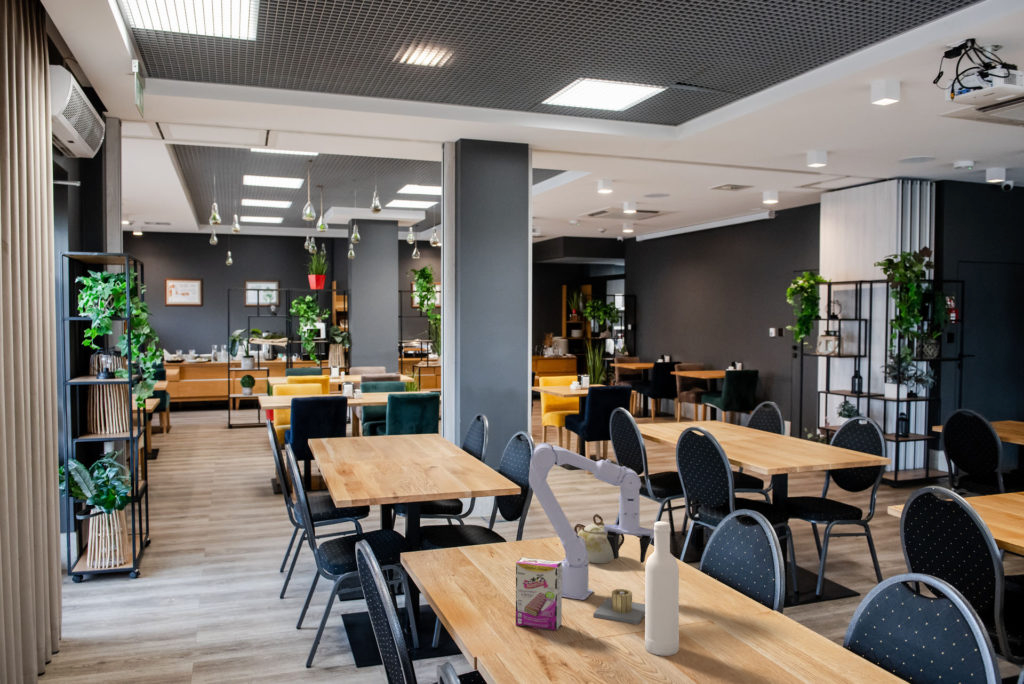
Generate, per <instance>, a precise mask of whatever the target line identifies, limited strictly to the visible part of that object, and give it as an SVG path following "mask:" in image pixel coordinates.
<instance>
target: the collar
mask: <svg viewBox="0 0 1024 684" xmlns="http://www.w3.org/2000/svg"><path fill="white" fill-rule="evenodd" d="M620 592H624V595H620ZM611 599H612V610H613V611H615V612H619V613H628V612H630V611H632V602H633V592H632V591H631V590H629V589H627V588H625V589H624V588H617V589H613V590H612V591H611Z"/></svg>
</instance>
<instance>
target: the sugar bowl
mask: <svg viewBox="0 0 1024 684" xmlns="http://www.w3.org/2000/svg"><path fill="white" fill-rule="evenodd" d="M596 518H598V519H599V520H600V521H596V520H597V519H596ZM592 520H593V523H591V524H588V525H586V526H585V525H584V524H582V523H577V524H576V525H574V527H573V529H574V530H575V532H576V534H577V535H578V536H580V537H581V538H582V539H583V540H584V541H585V544H586V550H587V552H588V558H587V560H588V563H592V564H607V563H610V562H612V561H613V560H614V555H613V551H612V548H611V545H610V543H609V541H608V539H607V534H608V533H604V526H605V525H606V524H605V523H604V519H603V518H602V516H601V515H599V514H598V513H595V515H593V517H592ZM624 535H625V534H619V544H618V547H619V550H620V549H621V547H622V546H623V545H624V542H625V536H624Z"/></svg>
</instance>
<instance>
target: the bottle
mask: <svg viewBox="0 0 1024 684" xmlns="http://www.w3.org/2000/svg"><path fill="white" fill-rule="evenodd" d="M653 525H654V526H653V530H654V538H653V542H654V543H653V548H654V549H653V550H654V551H653V552H652V553H651V554H650V555H649V556H648V557H647V559H646V563H645V567H644V568H645V569H644V570H645V571H644V573H645V574H644V577H645V579H644V583H645V584H644V586H645V587H644V589H645V591H644V594H645V595H644V596H645V597H644V598H645V599H644V600H645V601H644V602H645V603H644V604H645V616H644V622H645V623H644V626H645V627H644V648H645V650H646V651H647V652H648V653H650V654H653V655H655V656H663V657H667V656H673V655H676V654H677V653H678V652H679V650H680V649H679V648H680V647H679V645H680V637H679V635H680V631H679V629H680V627H679V626H680V625H679V622H680V618H679V617H680V614H679V613H680V612H679V611H680V602H679V601H680V599H679V598H680V597H679V595H680V568H679V564H678V561H677V559H676V557H675V556H674V555H673V554H672V553H671V546H670V545H671V530H672V529H671V524H670V523H669V522H668V521H662V520H661V521H660V520H659V521H658V520H657V521H655V522H654V524H653Z"/></svg>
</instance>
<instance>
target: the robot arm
mask: <svg viewBox="0 0 1024 684" xmlns="http://www.w3.org/2000/svg"><path fill="white" fill-rule="evenodd" d="M529 463H530V464H529V473H528V484H529V485H530V488H531V490H532V492H533V493H534V495H535V496H536V498H537V500H538V502H539V504H540V506H541V507H542V509H543V511H544V513H545V514H546V516H547V518H548V520H549V522H550V524H551V525H552V527H553V529H554V530H555V533H556V534H557V537H558V538H559V541H560V543H561V545H562V547H563V550H564V555H565V557H564V559H563V560H557V562H562V598H569V599H574V600H575V599H576V600H581V601H585V600H586V599H588V597H590V595H591V594H592V593H593V592H594V589H592V588H589V562H588V560H587V558H588V552H587V550H586V544H585V541H584V540H583V539H582V538H581V537H580V536H578V535H577V534H576V532H575V530H574V527H573V526H572V525H571V522H570V521H569V519H568V517H567V516H566V514H565V512H564V510H563V509H562V506H561V505H560V503H559V501H558V500H557V497H556V496H555V494H554V492H553V490H552V489H551V487H550V485H549V484H548V481H547V478H548V475H549V473H550V471H551V470H552V468H553V467H554V465H555V463H556V467H560V466H563V465H570V466H573V467H575V468H579V469H581V470H584V471H587V472H590V473H592V475H593V477H594V478H595V479H596V480H598V481H601V482H604V483H607V484H609V485H611V486H614V487H619V495H618V498H619V499H618V503H619V507H618V508H619V510H618V511H619V514H618V522H619V523H618V524H606V525H605V526H604V533H608V534H607V539H608V541H609V543H610V545H611V548H612V551H613V555H614V558H613V560H618V558H619V555H620V552H619V551H620V549H619V547H618V544H619V534H623V535H627V536H628V535H629V536H636V537H640V538H639V548H640V549H639V550H640V553H639V555H640V557H639V558H640V559H639V561H640V564H643V563H644V562H645V560H646V555H647V551H648V547H649V546H650V544H651V541H652V539H654V529H653V528H647V527H646V528H645V527H640V526H641V525H640V523H641V522H640V517H641V516H640V508H641V507H640V500H641V499H640V490H641V488H642V482H641V478H640V476H639V475H638V473H637V472H636V471H635V470H634V469H632V468H630V467H627V466H625V465H623V466H620V465H619V464H616V463H613V462H612V461H611V459H608V458H606V460H604V459H600V460H597V461H595V460H593V459H590V458H588V457H586V456H583V455H581V454H579V453H576V452H574V451H572V450H569V449H567V448H564V447H561V446H558V445H556V444H555V445H554V444H553V445H551V444H550V443H548V442H541V443H538V444H537V445H536V446H535V447H534V448H533V451H532V454H531V456H530V462H529Z"/></svg>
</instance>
